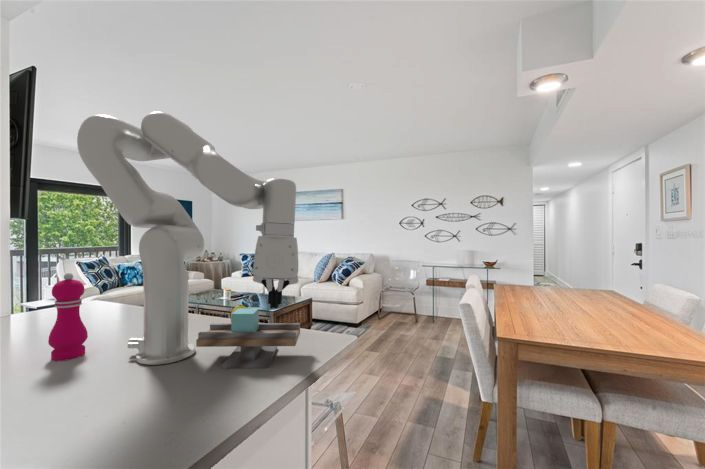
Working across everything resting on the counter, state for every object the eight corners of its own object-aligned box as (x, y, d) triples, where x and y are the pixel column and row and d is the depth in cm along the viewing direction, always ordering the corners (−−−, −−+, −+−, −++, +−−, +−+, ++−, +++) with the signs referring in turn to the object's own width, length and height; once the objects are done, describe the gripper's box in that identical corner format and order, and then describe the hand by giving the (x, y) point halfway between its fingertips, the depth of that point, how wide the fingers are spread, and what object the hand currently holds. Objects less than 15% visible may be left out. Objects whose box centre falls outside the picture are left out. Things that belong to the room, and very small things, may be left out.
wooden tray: (194, 368, 74) (194, 336, 74) (214, 349, 86) (214, 321, 86) (294, 367, 75) (294, 335, 75) (300, 348, 87) (300, 321, 87)
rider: (231, 335, 78) (231, 313, 78) (238, 328, 83) (238, 308, 83) (253, 335, 78) (253, 313, 78) (258, 328, 83) (258, 308, 83)
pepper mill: (94, 353, 82) (94, 272, 82) (58, 364, 76) (58, 275, 76) (77, 348, 85) (77, 270, 85) (41, 358, 79) (41, 273, 79)
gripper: (242, 229, 76) (238, 309, 77) (308, 232, 77) (304, 312, 77) (250, 229, 84) (247, 302, 84) (310, 232, 85) (307, 304, 85)
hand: (274, 306), depth 81 cm, fingers closed
